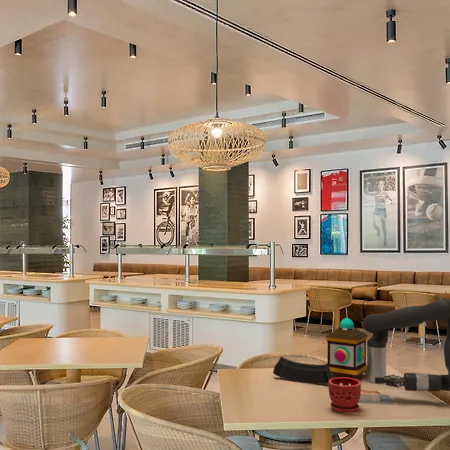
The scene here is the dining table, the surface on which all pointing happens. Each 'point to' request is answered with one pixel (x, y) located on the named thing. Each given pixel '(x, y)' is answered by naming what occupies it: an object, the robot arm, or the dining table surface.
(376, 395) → the slab
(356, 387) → the plant pot
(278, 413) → the dining table surface
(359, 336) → the decorative lantern
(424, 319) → the robot arm
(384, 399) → the mat
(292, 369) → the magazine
